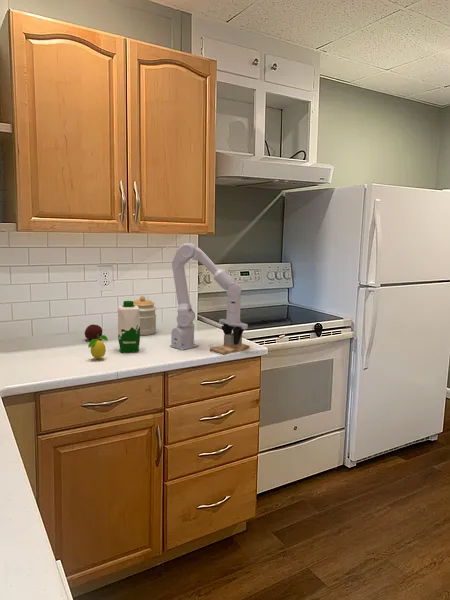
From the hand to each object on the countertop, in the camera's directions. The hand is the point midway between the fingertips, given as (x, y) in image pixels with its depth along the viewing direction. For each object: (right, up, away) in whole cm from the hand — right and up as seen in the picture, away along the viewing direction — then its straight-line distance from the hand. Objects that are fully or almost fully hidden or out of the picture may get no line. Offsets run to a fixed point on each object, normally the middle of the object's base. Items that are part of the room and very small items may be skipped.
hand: (232, 343), depth 199 cm
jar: (-43, +2, +25) cm, 49 cm away
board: (-1, -3, 0) cm, 3 cm away
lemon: (-51, -5, -20) cm, 55 cm away
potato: (-61, 0, +8) cm, 62 cm away
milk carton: (-43, -3, -6) cm, 43 cm away
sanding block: (0, -1, 0) cm, 1 cm away
